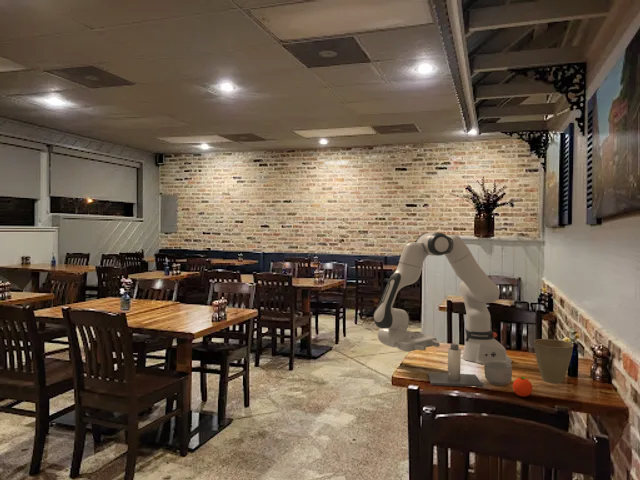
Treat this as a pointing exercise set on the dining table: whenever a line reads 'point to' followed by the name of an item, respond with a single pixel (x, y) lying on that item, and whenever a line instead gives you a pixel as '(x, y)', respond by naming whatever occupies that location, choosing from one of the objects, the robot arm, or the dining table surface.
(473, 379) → the slate board
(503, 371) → the teacup
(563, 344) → the plant pot
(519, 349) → the dining table surface
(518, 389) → the clementine
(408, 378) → the dining table surface
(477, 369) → the dining table surface
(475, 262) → the robot arm
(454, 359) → the pepper mill
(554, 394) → the dining table surface
